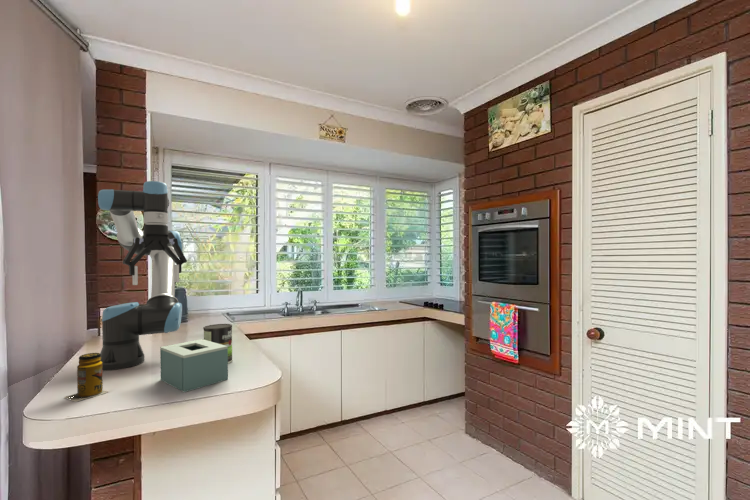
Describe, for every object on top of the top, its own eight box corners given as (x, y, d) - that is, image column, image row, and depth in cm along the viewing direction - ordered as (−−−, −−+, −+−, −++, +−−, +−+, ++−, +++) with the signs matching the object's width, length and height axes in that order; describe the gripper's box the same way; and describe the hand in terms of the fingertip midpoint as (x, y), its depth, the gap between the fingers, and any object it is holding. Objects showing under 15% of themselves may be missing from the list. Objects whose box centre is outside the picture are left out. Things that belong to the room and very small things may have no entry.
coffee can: (237, 358, 145) (237, 323, 145) (223, 366, 135) (222, 328, 135) (214, 358, 147) (213, 323, 147) (197, 366, 137) (197, 328, 137)
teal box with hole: (160, 380, 122) (160, 347, 122) (202, 369, 132) (202, 339, 133) (184, 392, 110) (183, 355, 110) (228, 379, 121) (227, 346, 121)
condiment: (108, 392, 111) (108, 353, 112) (75, 402, 104) (75, 360, 104) (96, 388, 115) (96, 350, 115) (63, 398, 107) (63, 357, 108)
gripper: (118, 221, 120) (119, 286, 119) (195, 225, 139) (196, 281, 139) (111, 223, 124) (112, 285, 124) (187, 226, 144) (187, 280, 143)
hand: (156, 283), depth 131 cm, fingers open, 13 cm apart
